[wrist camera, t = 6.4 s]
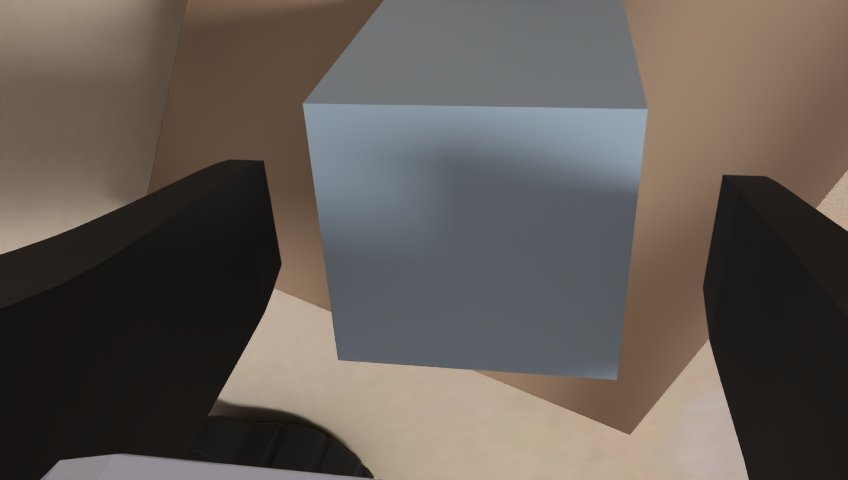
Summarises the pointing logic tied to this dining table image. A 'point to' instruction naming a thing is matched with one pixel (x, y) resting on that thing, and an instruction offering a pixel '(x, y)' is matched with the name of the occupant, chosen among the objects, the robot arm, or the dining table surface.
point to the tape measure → (274, 447)
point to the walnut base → (661, 162)
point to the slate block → (481, 184)
